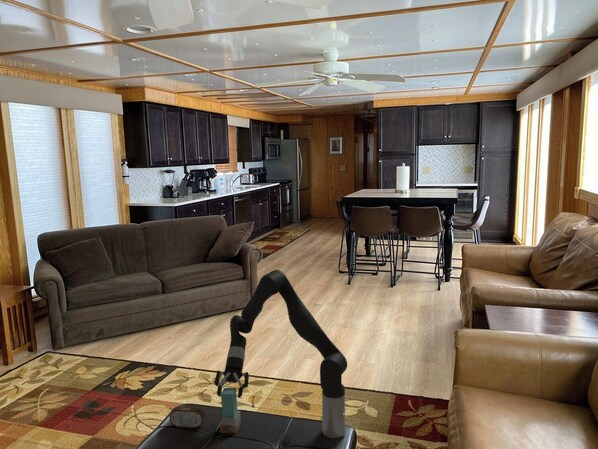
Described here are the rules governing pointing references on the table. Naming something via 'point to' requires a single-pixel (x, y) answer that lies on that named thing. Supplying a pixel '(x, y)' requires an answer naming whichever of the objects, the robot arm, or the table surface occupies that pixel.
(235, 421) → the tower top
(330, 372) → the robot arm
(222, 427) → the tower base
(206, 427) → the table surface
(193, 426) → the tin
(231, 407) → the block
